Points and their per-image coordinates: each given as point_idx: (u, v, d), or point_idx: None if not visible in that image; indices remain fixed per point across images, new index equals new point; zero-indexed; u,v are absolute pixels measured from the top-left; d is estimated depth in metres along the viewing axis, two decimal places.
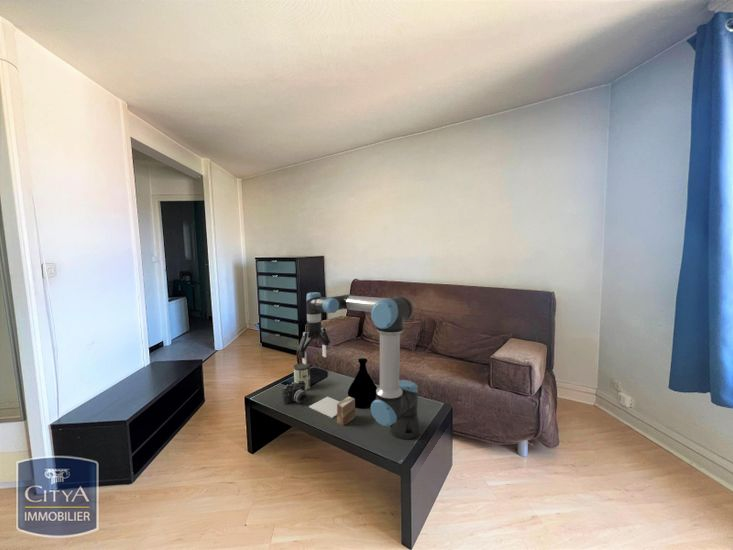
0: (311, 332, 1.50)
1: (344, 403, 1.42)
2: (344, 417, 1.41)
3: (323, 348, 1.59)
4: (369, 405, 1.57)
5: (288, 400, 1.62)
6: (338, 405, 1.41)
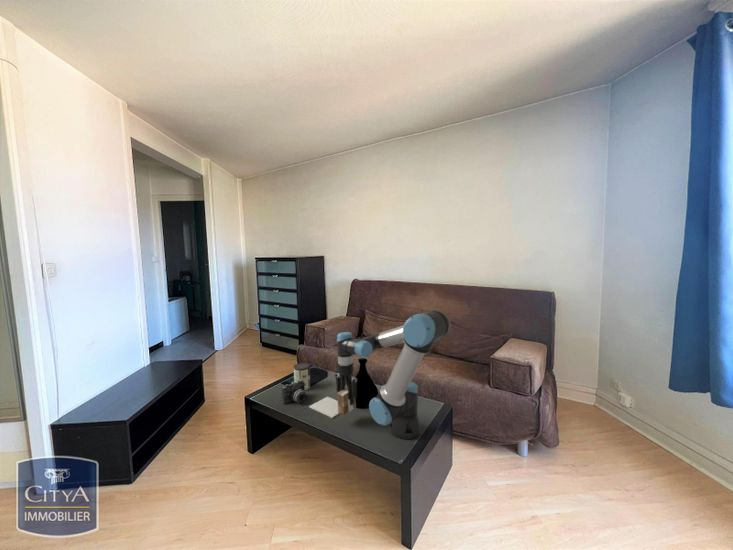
0: (340, 373, 1.44)
1: (344, 392, 1.41)
2: (345, 406, 1.40)
3: None
4: None
5: (287, 400, 1.63)
6: (338, 394, 1.41)
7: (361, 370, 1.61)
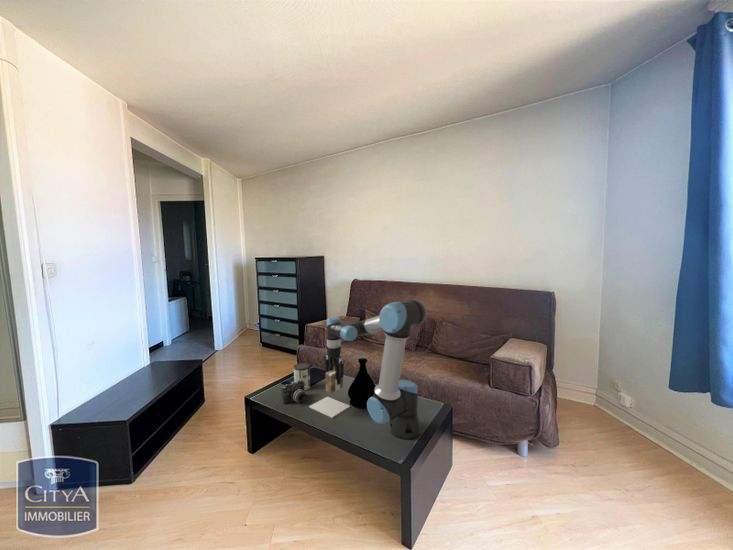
0: (328, 355, 1.55)
1: (332, 373, 1.52)
2: (332, 385, 1.51)
3: None
4: None
5: (287, 399, 1.63)
6: (326, 374, 1.51)
7: (361, 370, 1.61)
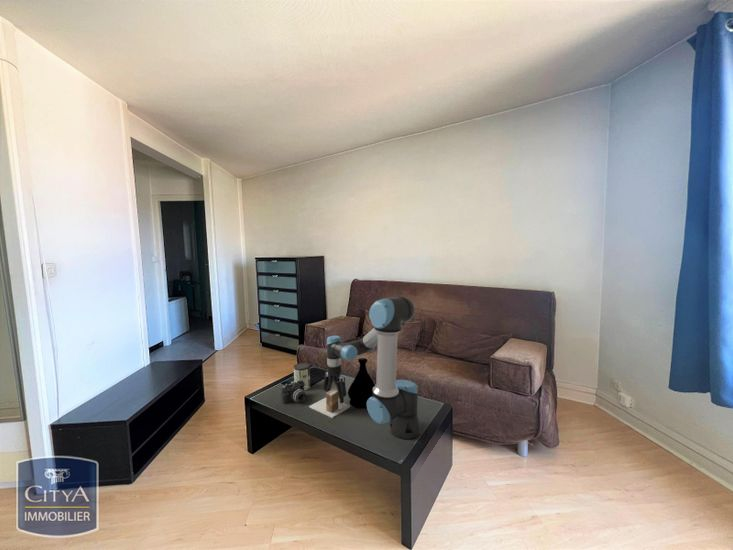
0: (329, 373, 1.55)
1: (333, 392, 1.52)
2: (333, 405, 1.51)
3: None
4: None
5: (287, 399, 1.63)
6: (327, 394, 1.52)
7: (361, 370, 1.61)
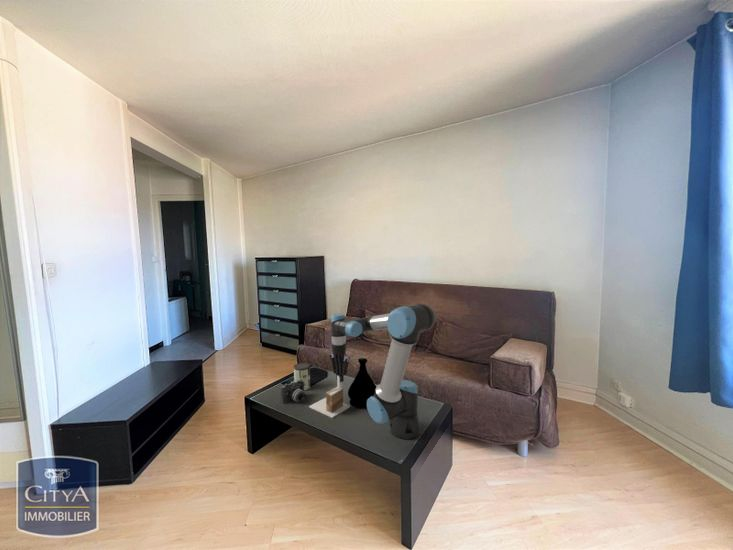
0: (333, 352, 1.52)
1: (333, 392, 1.52)
2: (333, 405, 1.51)
3: None
4: None
5: (287, 399, 1.64)
6: (327, 394, 1.52)
7: (361, 370, 1.61)
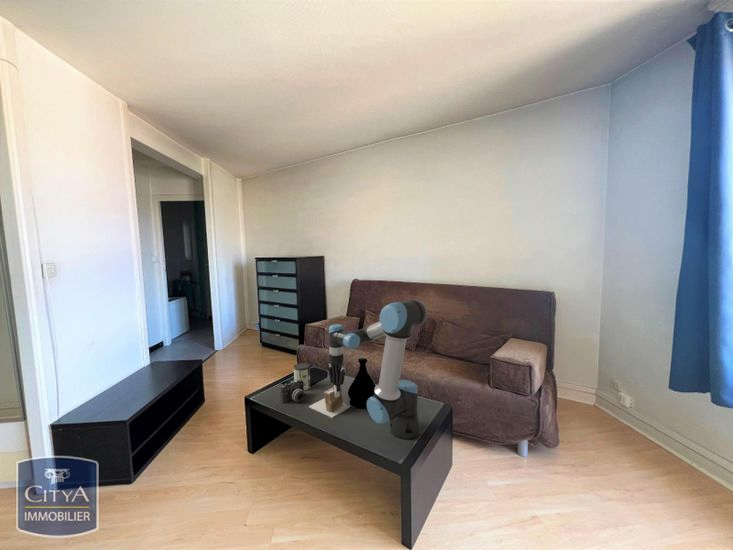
0: (331, 362, 1.54)
1: (330, 391, 1.53)
2: (332, 404, 1.51)
3: None
4: None
5: (286, 399, 1.64)
6: (325, 393, 1.53)
7: (361, 370, 1.61)
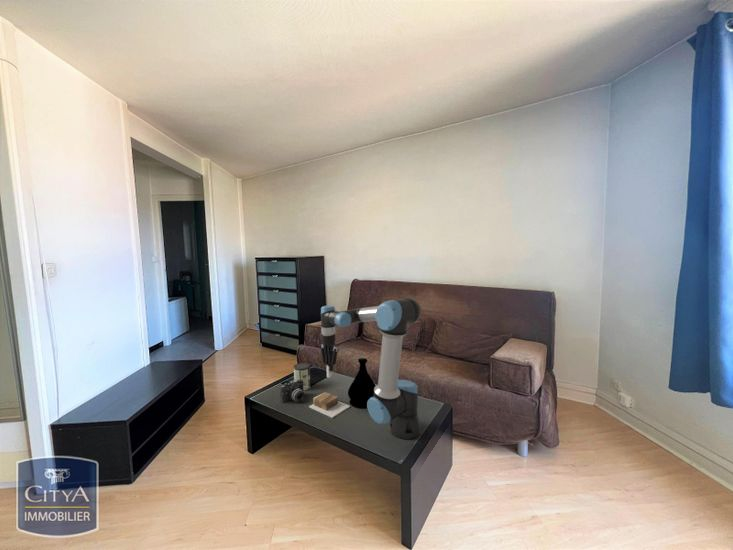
0: (323, 343, 1.57)
1: None
2: (322, 400, 1.56)
3: None
4: None
5: (286, 398, 1.64)
6: (314, 403, 1.58)
7: (361, 370, 1.61)
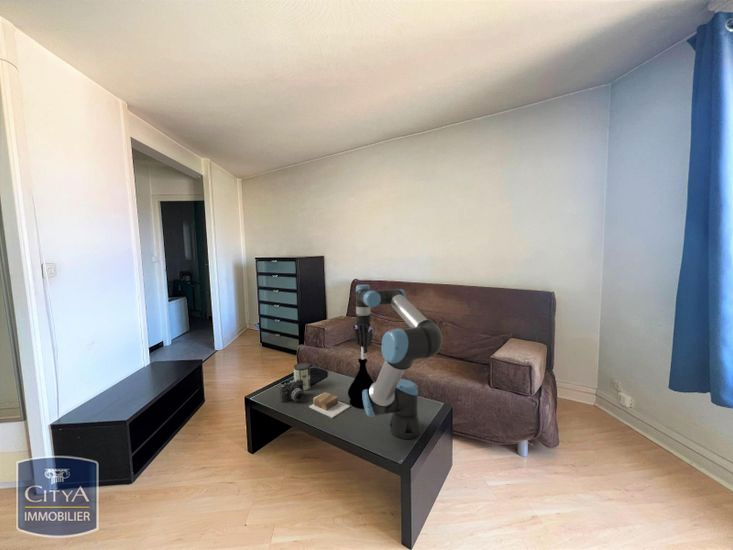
0: (357, 323, 1.50)
1: None
2: (322, 400, 1.56)
3: None
4: None
5: (286, 398, 1.65)
6: (314, 403, 1.58)
7: (361, 370, 1.61)
